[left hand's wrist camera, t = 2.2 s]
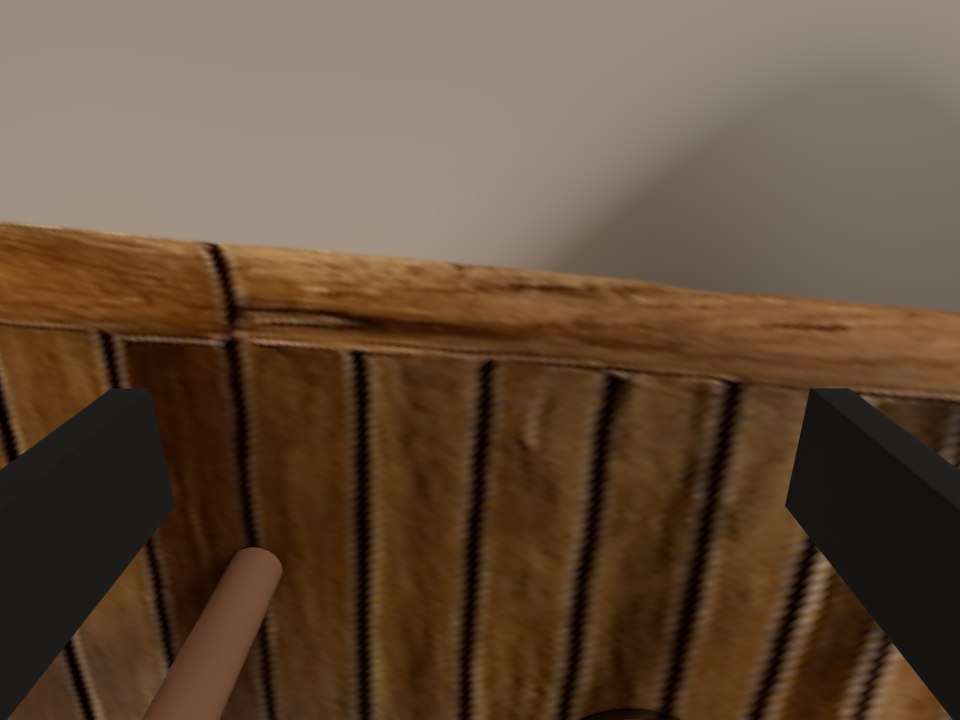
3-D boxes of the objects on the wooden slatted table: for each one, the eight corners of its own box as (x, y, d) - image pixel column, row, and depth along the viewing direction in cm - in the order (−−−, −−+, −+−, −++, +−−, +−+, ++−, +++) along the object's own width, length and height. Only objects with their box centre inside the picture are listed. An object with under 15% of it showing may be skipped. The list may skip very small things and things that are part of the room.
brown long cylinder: (224, 549, 48) (82, 789, 31) (275, 544, 48) (161, 782, 31) (238, 591, 49) (111, 841, 32) (288, 585, 49) (186, 835, 32)
